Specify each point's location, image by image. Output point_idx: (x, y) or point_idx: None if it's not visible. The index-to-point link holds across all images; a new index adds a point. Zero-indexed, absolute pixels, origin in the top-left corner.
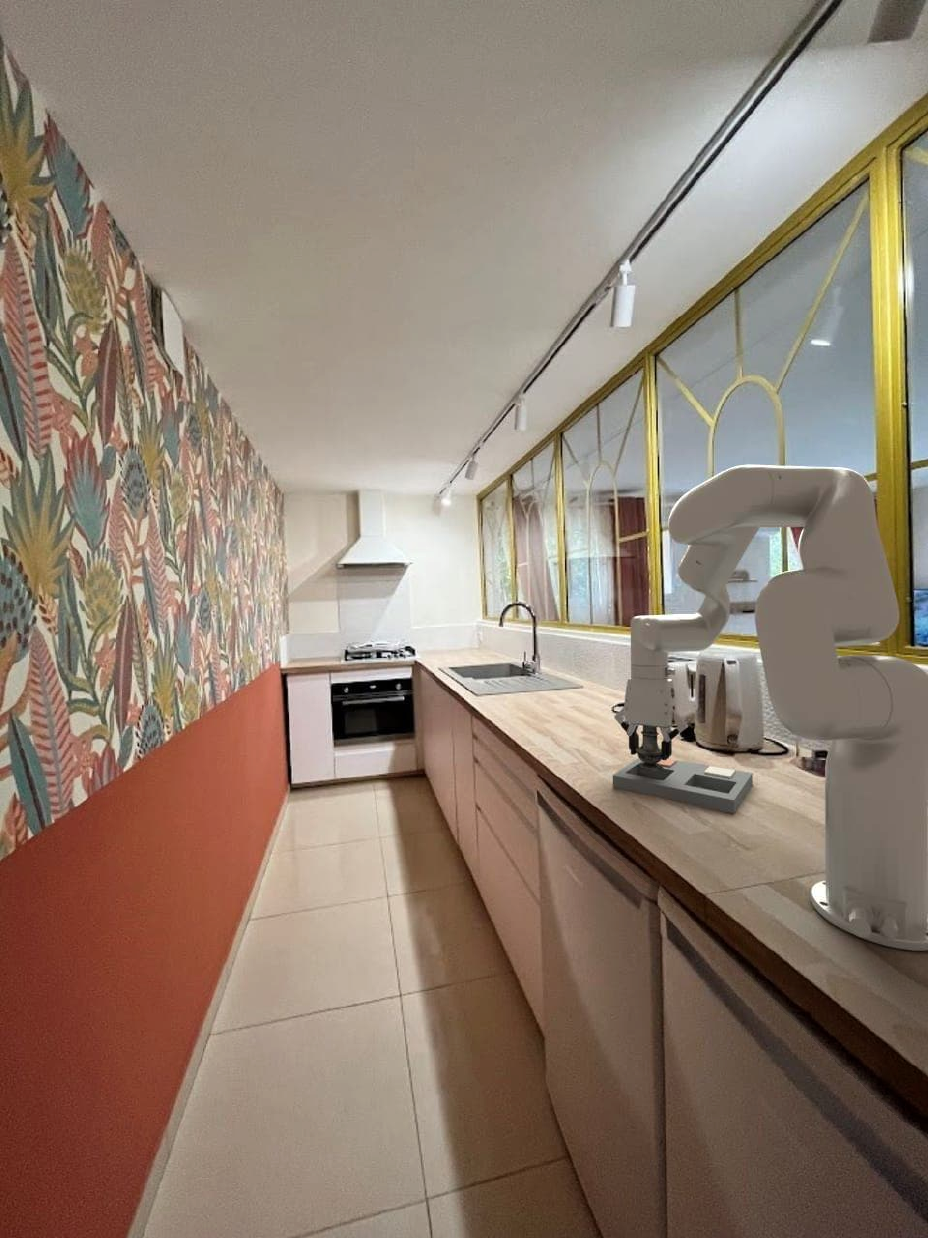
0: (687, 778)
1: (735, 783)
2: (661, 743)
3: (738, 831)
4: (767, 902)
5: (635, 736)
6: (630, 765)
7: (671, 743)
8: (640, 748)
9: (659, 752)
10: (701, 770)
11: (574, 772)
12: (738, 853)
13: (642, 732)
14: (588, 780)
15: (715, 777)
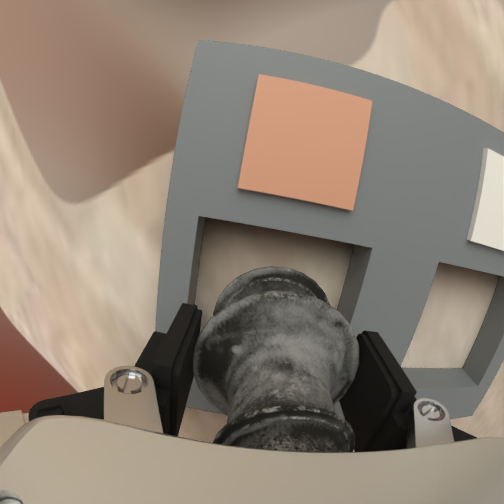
0: (410, 326)
1: None
2: (355, 451)
3: None
4: None
5: (174, 419)
6: (172, 261)
7: (413, 398)
8: (225, 399)
9: (332, 396)
10: (462, 198)
11: (25, 286)
12: None
13: None
14: (83, 344)
15: (489, 265)
